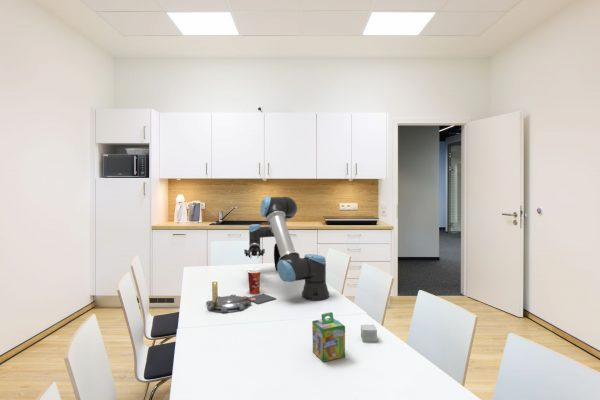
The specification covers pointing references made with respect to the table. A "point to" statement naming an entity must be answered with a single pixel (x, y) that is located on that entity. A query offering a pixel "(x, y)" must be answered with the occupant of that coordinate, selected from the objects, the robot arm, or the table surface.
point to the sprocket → (226, 301)
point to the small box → (368, 333)
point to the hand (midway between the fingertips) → (254, 256)
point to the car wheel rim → (276, 256)
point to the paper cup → (254, 280)
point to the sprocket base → (228, 310)
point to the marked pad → (261, 298)
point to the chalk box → (328, 338)
